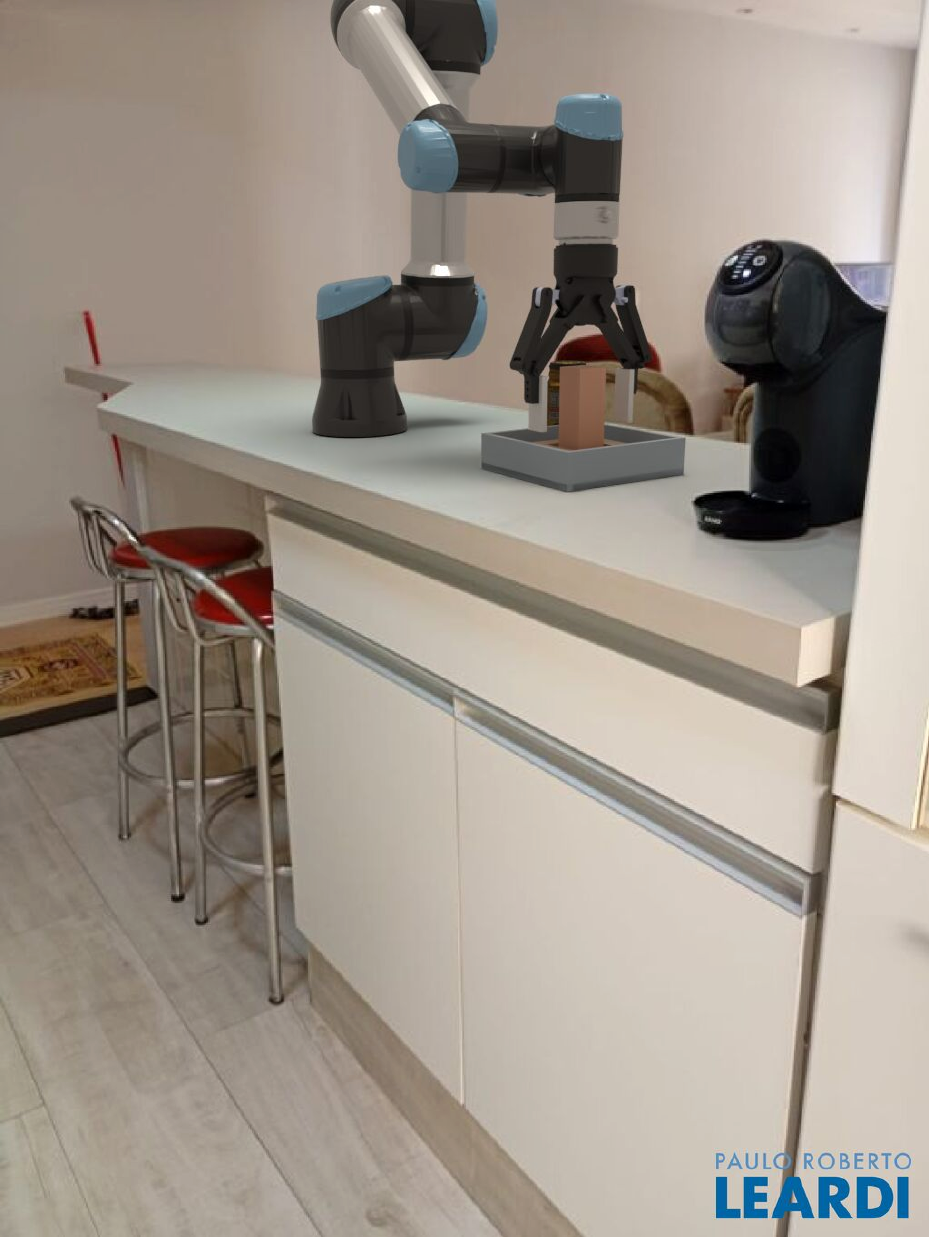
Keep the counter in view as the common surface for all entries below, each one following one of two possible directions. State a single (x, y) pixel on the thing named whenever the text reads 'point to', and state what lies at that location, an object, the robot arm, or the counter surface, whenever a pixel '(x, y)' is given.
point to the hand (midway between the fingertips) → (581, 426)
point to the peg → (582, 407)
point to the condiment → (556, 389)
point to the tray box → (583, 457)
